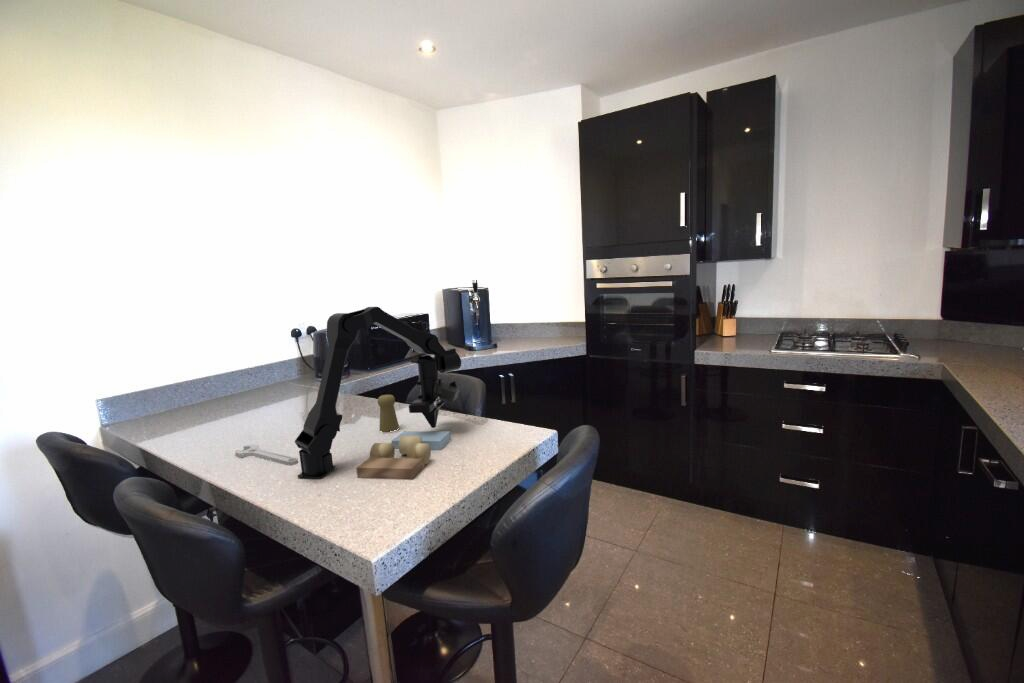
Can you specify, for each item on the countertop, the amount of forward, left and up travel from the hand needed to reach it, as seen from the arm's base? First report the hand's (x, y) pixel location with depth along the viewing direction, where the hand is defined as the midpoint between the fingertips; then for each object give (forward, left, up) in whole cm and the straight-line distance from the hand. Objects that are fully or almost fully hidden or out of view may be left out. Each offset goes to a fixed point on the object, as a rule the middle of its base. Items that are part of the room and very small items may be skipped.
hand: (433, 427), depth 136 cm
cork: (-16, +3, -2) cm, 16 cm away
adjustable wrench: (-41, -21, -2) cm, 46 cm away
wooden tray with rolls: (0, -25, -2) cm, 25 cm away
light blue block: (0, -12, -2) cm, 12 cm away
